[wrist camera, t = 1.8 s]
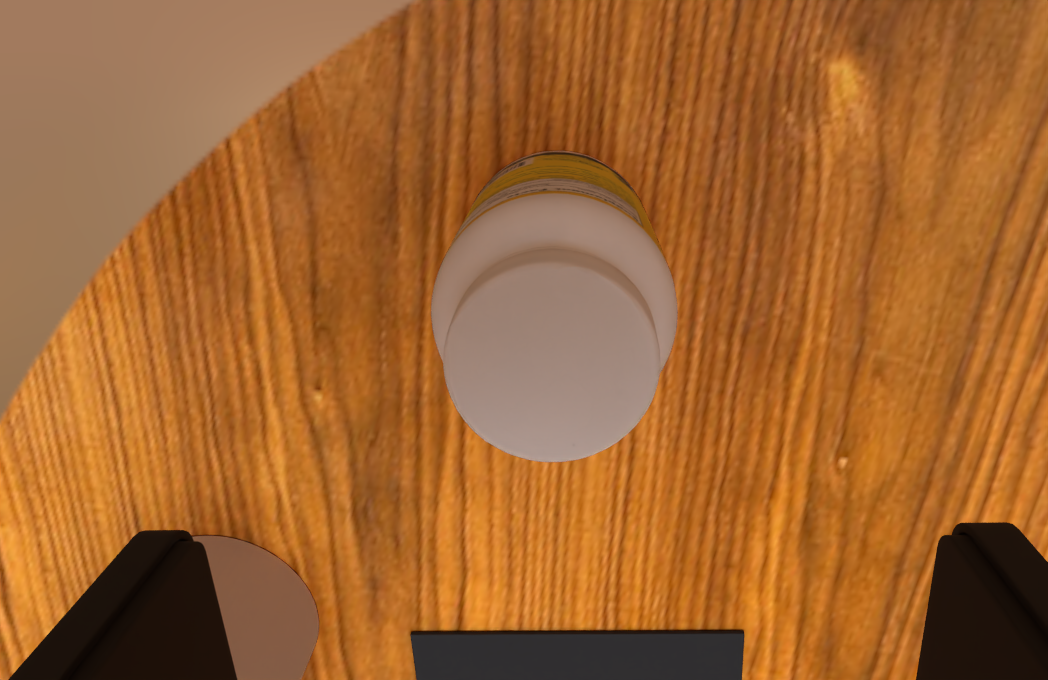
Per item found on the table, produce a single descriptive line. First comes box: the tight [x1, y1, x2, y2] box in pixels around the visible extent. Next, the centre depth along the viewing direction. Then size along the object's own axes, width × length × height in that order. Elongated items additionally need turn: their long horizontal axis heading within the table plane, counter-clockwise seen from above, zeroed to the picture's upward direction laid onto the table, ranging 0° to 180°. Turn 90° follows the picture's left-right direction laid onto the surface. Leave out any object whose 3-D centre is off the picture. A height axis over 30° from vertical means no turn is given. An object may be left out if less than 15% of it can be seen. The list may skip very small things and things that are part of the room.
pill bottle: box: [431, 151, 678, 462], centre depth 22 cm, size 6×6×11 cm
